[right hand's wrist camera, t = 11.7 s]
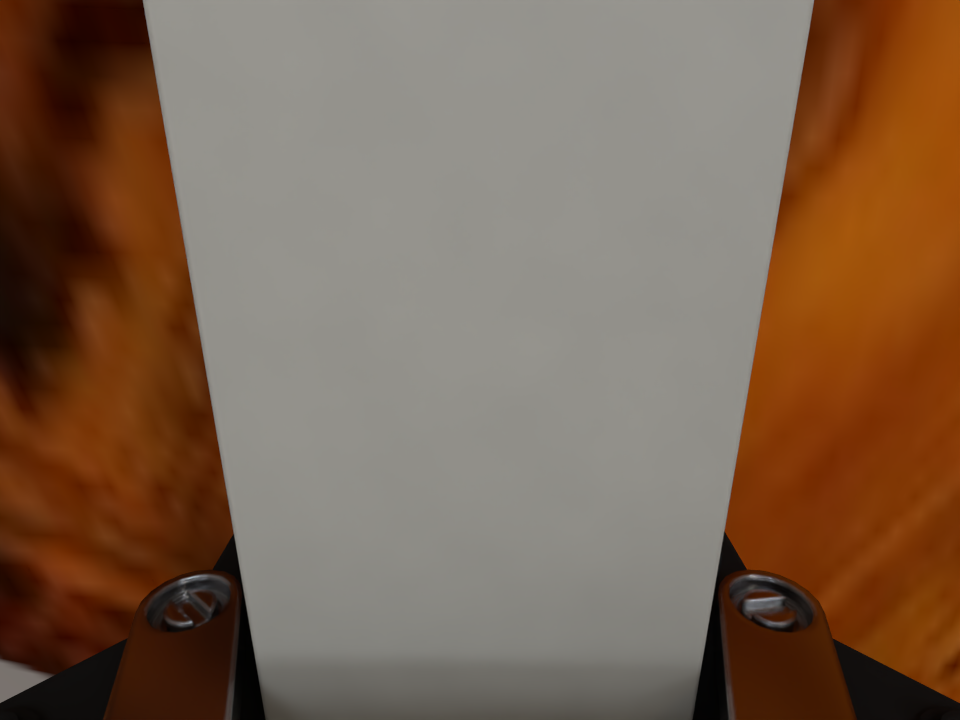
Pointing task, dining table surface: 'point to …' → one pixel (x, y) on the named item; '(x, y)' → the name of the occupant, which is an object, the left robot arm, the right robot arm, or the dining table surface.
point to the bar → (478, 333)
